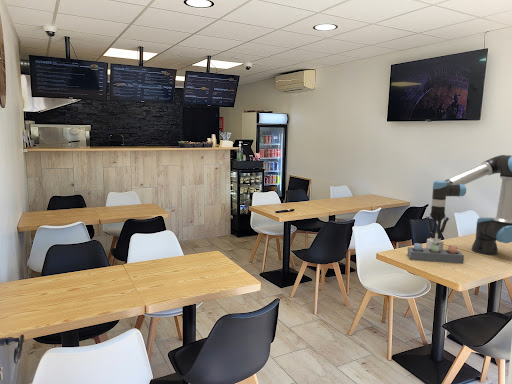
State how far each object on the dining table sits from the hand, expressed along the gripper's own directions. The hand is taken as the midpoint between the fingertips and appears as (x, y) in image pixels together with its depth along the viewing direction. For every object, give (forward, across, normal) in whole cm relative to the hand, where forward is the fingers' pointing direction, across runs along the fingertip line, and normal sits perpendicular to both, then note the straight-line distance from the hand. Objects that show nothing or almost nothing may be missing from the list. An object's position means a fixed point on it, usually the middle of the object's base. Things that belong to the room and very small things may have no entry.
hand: (435, 243), depth 236 cm
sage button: (+6, 0, 0) cm, 6 cm away
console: (+10, 0, 0) cm, 10 cm away
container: (+10, -4, -18) cm, 21 cm away
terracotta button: (+6, -10, 0) cm, 12 cm away
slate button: (+6, +10, 0) cm, 12 cm away
